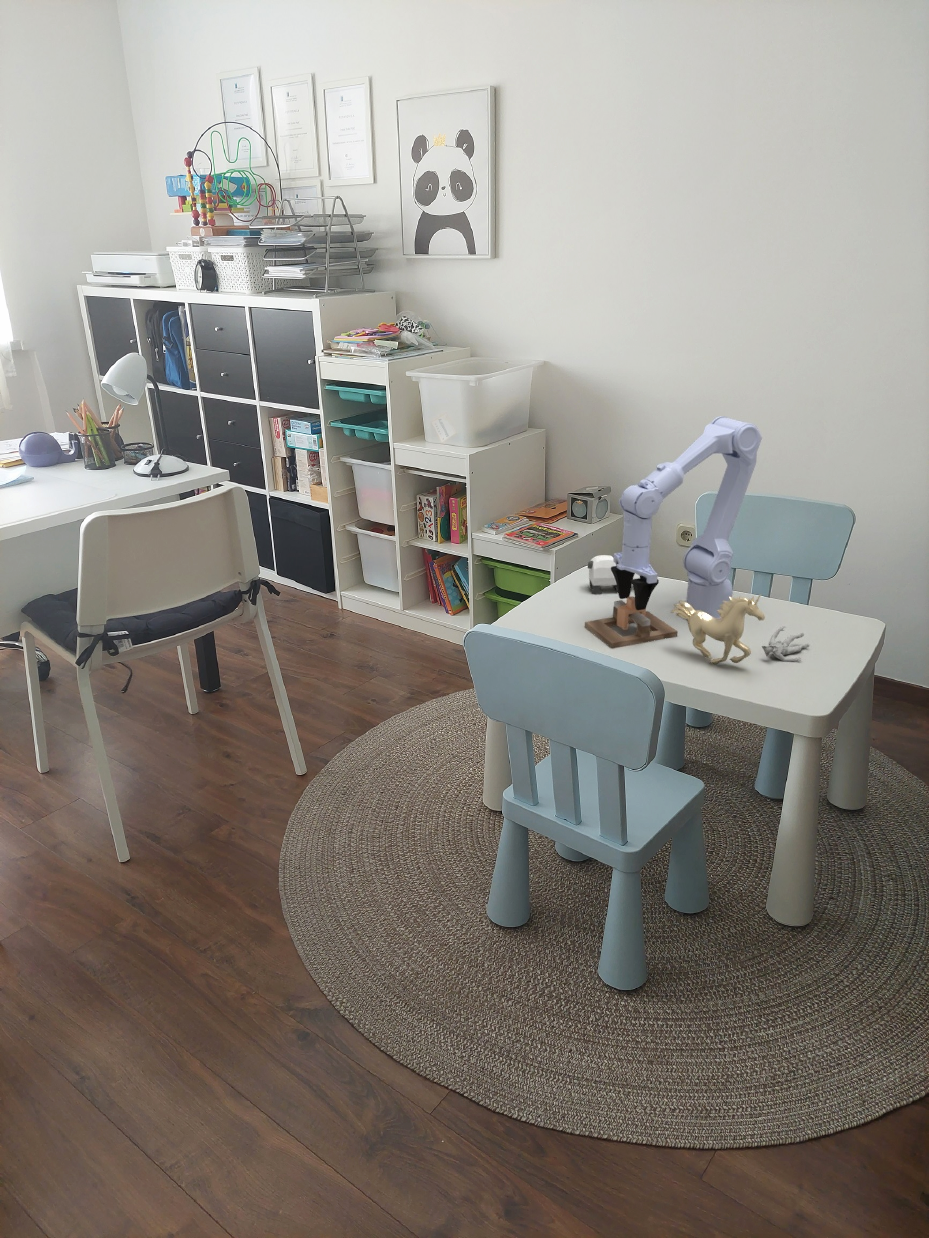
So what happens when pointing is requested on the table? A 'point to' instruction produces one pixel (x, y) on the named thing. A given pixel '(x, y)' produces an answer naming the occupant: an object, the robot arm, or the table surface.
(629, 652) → the table surface
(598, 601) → the table surface
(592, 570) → the giant panda
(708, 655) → the unicorn
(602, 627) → the brown wooden frame
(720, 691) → the table surface
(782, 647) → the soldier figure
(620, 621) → the block
